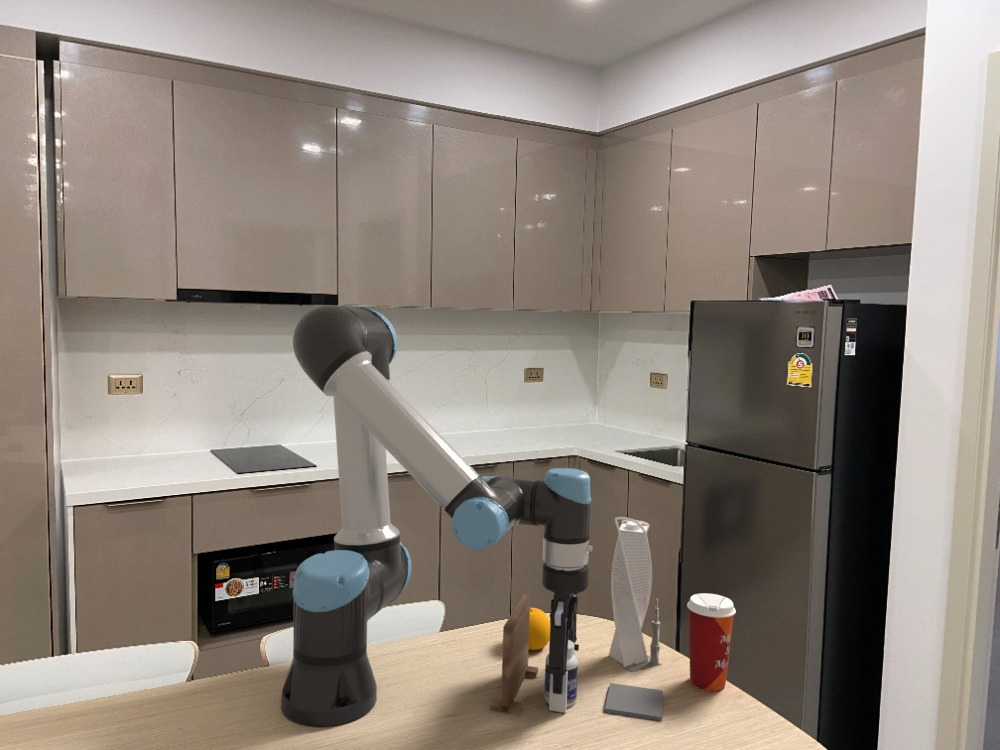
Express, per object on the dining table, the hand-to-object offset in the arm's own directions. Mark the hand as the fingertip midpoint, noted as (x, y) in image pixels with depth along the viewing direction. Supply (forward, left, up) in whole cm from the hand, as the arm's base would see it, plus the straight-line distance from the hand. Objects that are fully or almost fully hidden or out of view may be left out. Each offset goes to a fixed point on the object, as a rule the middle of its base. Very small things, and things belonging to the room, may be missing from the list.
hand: (561, 699), depth 122 cm
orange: (-9, +19, -1) cm, 21 cm away
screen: (-8, +1, 0) cm, 8 cm away
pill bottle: (0, 0, -1) cm, 1 cm away
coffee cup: (+24, +14, -1) cm, 28 cm away
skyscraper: (+10, +19, -1) cm, 21 cm away
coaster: (+12, +3, 0) cm, 12 cm away
